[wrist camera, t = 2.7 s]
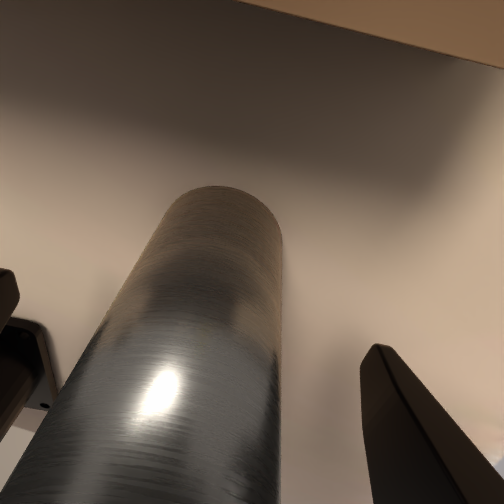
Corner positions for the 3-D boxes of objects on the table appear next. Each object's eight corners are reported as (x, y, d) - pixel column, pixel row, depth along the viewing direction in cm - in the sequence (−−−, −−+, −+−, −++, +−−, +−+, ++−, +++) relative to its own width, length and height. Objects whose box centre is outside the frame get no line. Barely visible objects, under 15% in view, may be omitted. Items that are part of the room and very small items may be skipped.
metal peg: (266, 296, 12) (248, 609, 6) (159, 274, 12) (15, 574, 6) (296, 202, 10) (321, 544, 4) (164, 172, 10) (-67, 481, 3)
